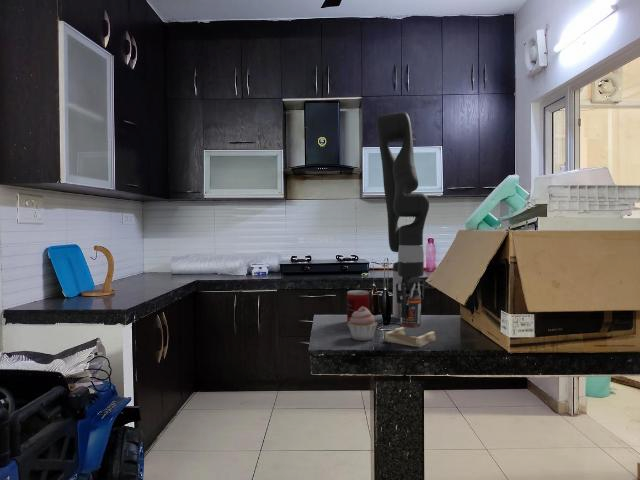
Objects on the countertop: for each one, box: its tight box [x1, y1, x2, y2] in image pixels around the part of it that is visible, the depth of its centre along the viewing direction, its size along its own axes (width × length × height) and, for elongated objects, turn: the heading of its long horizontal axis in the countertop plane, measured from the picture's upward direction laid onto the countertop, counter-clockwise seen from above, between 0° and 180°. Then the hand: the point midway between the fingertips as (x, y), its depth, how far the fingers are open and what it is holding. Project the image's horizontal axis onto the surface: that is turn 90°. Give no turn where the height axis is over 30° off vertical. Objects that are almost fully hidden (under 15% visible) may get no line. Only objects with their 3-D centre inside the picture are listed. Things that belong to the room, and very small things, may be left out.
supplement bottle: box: [400, 289, 422, 329], centre depth 151 cm, size 6×6×11 cm
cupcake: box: [346, 306, 378, 342], centre depth 154 cm, size 9×9×10 cm
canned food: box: [346, 289, 370, 323], centre depth 177 cm, size 8×8×11 cm
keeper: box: [384, 326, 436, 348], centre depth 151 cm, size 10×11×2 cm
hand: (410, 315), depth 151 cm, fingers closed on supplement bottle, 6 cm apart
